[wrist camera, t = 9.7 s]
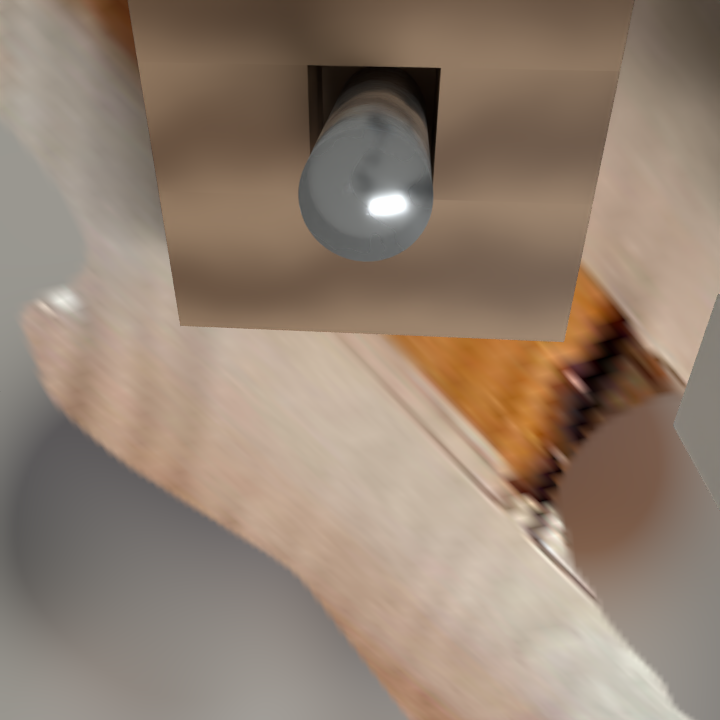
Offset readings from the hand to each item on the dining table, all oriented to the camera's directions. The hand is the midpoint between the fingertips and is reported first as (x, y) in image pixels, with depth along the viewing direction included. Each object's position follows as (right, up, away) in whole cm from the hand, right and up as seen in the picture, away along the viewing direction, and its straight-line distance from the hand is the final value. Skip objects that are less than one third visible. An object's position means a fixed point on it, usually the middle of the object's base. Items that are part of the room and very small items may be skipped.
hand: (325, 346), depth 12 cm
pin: (+2, +11, +18) cm, 21 cm away
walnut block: (+2, +12, +19) cm, 22 cm away
